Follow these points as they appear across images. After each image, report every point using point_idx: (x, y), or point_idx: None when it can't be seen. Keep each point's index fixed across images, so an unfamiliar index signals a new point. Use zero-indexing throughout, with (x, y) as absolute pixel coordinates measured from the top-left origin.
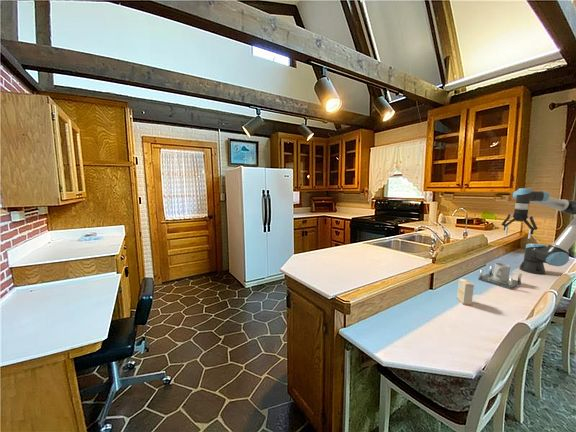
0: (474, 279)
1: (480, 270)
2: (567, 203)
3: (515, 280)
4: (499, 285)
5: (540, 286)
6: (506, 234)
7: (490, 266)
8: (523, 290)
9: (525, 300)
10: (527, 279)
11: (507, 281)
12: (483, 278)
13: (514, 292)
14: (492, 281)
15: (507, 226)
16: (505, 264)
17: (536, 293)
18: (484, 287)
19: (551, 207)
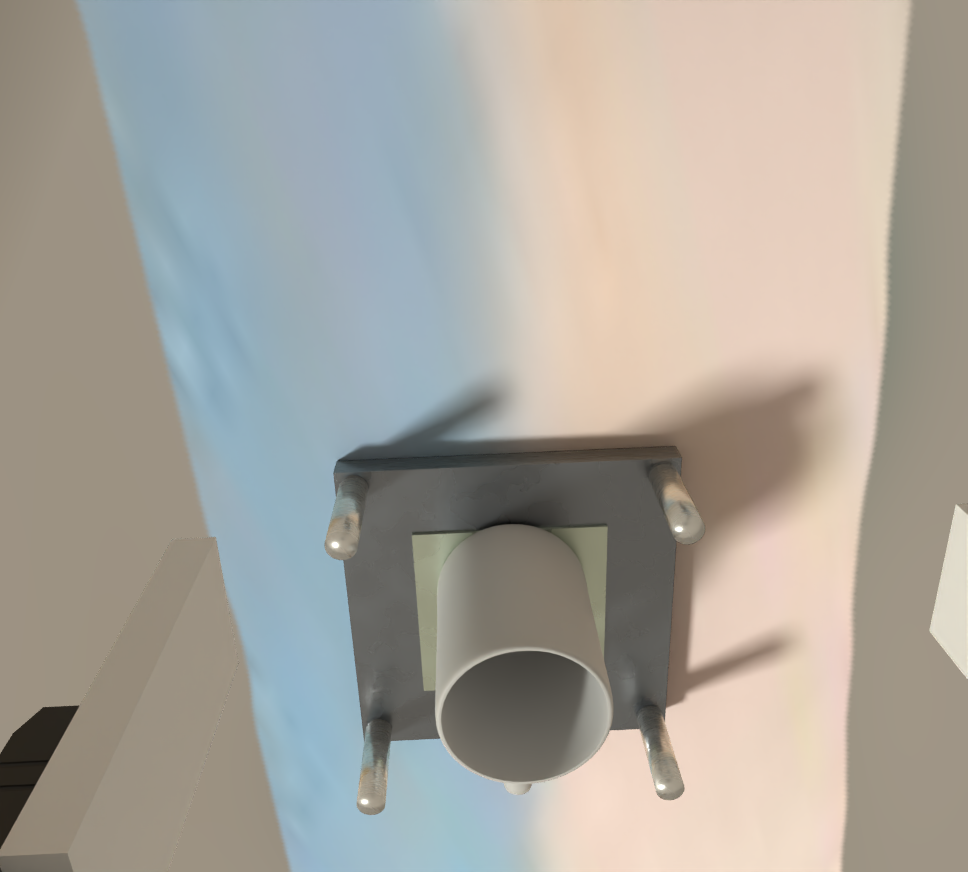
0: (344, 748)
1: (363, 811)
2: None
3: (625, 468)
4: None
5: (842, 327)
6: (223, 602)
7: (335, 558)
8: (741, 629)
9: (800, 832)
10: (682, 167)
11: None
12: (401, 716)
13: (700, 747)
14: None
15: (33, 869)
16: (533, 649)
17: (840, 602)
18: (500, 850)
19: None
